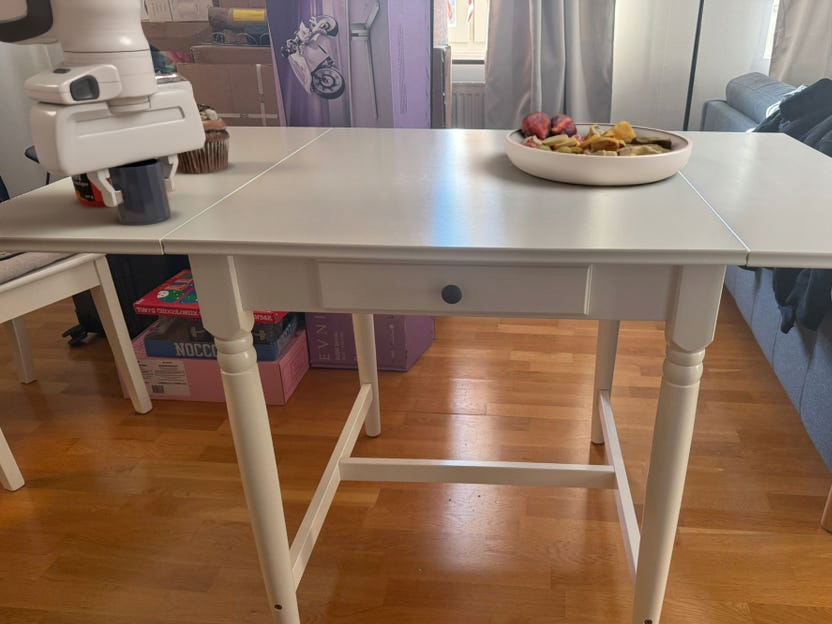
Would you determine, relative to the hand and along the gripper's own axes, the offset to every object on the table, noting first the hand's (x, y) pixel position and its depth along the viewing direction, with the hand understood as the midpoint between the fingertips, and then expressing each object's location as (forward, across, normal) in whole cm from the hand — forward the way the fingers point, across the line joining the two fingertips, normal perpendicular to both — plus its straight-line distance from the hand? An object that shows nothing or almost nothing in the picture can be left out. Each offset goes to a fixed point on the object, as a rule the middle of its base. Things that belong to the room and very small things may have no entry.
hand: (141, 198), depth 83 cm
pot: (+3, 0, 0) cm, 3 cm away
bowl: (+3, -56, +39) cm, 68 cm away
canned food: (+3, -4, -12) cm, 12 cm away
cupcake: (+3, -23, -16) cm, 28 cm away
